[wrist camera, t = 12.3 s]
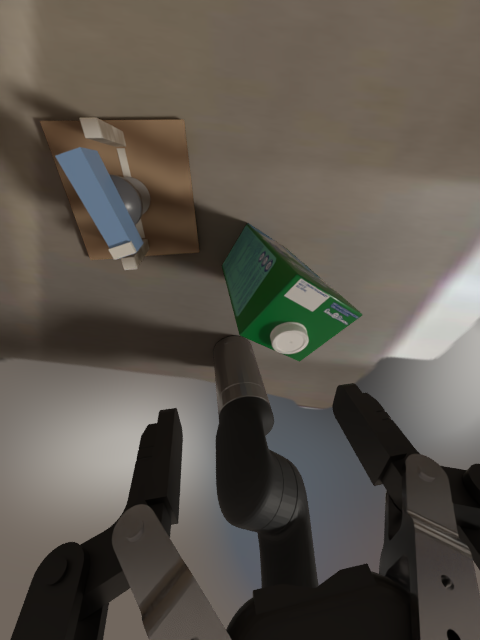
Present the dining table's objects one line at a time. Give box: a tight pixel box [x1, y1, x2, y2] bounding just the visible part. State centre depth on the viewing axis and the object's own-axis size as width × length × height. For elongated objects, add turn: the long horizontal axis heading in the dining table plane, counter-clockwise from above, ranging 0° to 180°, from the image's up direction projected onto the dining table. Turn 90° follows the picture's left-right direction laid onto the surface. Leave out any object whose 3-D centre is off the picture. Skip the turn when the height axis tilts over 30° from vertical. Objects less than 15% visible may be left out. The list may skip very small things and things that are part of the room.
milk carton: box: [222, 223, 362, 361], centre depth 35 cm, size 9×9×25 cm
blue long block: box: [55, 147, 144, 260], centre depth 27 cm, size 6×10×6 cm, turn 16°
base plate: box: [40, 117, 199, 270], centre depth 32 cm, size 18×18×11 cm
